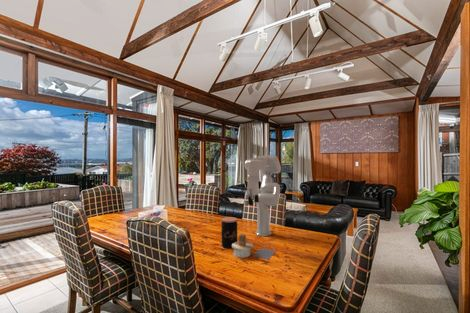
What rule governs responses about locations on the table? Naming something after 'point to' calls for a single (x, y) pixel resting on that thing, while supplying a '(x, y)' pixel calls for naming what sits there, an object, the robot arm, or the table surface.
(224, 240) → the coffee jar
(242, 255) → the bowl
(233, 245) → the lid
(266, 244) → the table surface
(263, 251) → the mat
